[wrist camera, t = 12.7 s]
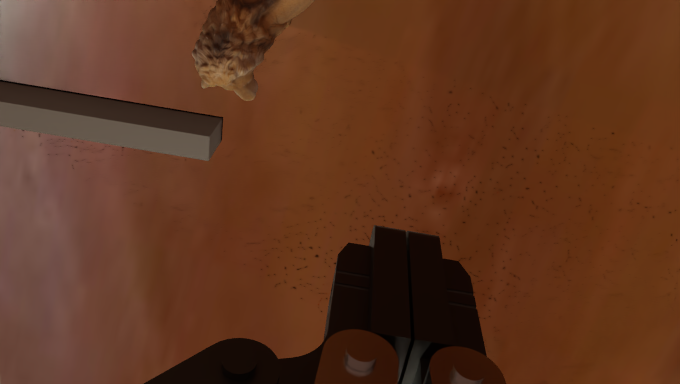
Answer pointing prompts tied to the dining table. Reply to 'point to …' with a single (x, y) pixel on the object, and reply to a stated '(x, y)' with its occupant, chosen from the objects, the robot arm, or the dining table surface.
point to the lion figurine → (240, 41)
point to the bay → (109, 120)
